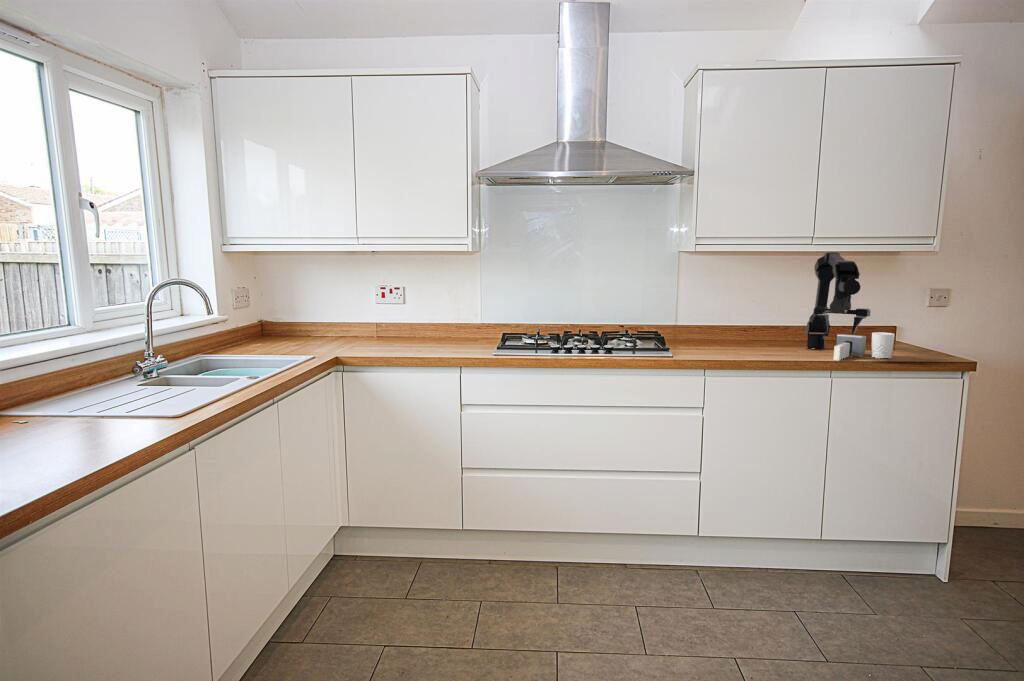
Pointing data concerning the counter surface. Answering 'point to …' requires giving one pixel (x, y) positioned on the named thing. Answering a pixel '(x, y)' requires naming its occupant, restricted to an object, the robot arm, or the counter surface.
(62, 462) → the counter surface
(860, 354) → the dispenser
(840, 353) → the white rectangular block
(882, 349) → the white cup
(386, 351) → the counter surface
